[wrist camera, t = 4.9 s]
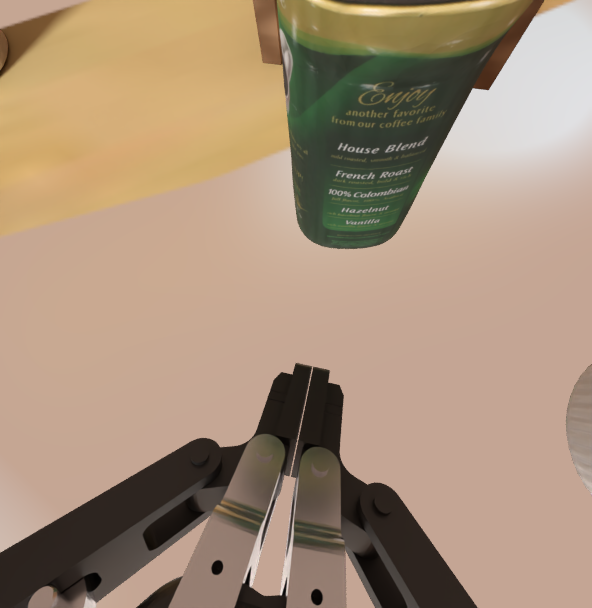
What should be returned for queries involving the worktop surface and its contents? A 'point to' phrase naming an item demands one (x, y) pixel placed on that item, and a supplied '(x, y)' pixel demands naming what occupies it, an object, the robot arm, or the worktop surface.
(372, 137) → the coffee jar
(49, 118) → the worktop surface
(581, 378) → the ramekin
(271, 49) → the bracket
